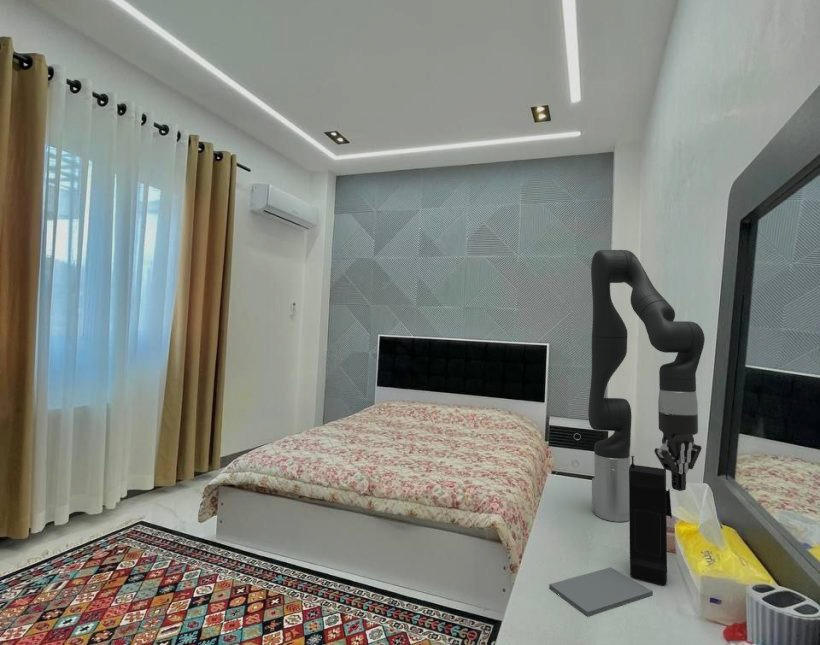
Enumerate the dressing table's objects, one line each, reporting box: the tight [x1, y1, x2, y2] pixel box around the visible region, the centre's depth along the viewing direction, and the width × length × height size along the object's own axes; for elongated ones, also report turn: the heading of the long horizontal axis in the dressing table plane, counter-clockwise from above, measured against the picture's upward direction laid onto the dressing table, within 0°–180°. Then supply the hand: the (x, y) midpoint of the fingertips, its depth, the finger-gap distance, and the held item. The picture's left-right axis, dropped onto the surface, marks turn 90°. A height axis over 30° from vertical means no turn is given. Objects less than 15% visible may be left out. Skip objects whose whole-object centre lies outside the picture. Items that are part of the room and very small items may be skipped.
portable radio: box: [628, 455, 673, 586], centre depth 95 cm, size 8×6×25 cm
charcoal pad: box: [548, 566, 654, 617], centre depth 89 cm, size 10×17×1 cm, turn 114°
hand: (678, 489), depth 99 cm, fingers closed
